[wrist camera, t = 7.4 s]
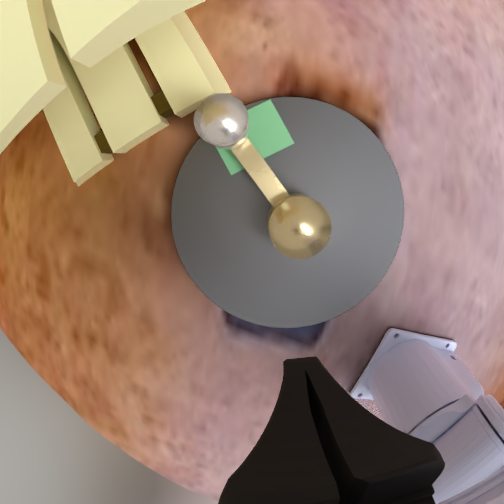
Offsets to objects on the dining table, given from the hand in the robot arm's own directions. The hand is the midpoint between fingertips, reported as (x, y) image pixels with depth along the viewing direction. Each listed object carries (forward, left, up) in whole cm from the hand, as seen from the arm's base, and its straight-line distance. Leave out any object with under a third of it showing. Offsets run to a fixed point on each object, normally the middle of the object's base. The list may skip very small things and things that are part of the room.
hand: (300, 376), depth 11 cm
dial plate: (+1, -5, -10) cm, 11 cm away
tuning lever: (+3, -7, -9) cm, 11 cm away
